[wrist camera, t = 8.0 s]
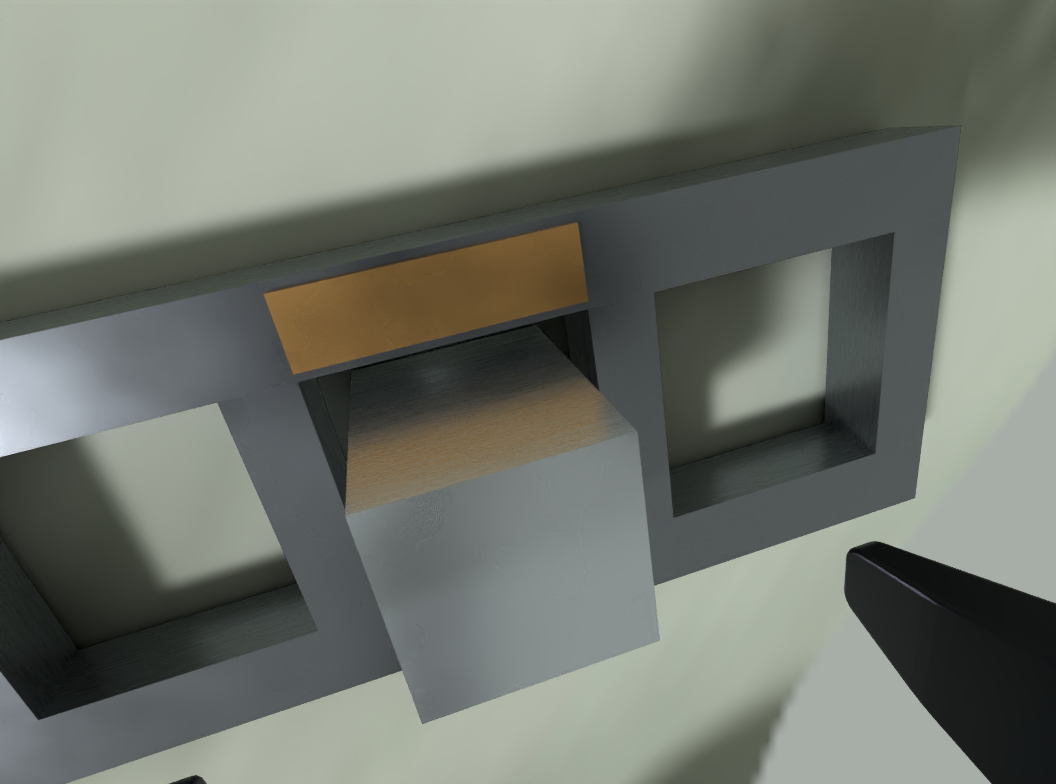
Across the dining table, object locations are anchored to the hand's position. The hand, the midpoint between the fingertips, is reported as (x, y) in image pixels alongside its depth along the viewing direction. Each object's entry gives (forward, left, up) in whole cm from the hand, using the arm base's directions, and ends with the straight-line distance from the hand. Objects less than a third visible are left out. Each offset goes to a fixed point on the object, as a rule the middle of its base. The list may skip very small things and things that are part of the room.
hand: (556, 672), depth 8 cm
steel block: (0, 0, -8) cm, 8 cm away
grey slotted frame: (0, 0, -8) cm, 8 cm away
